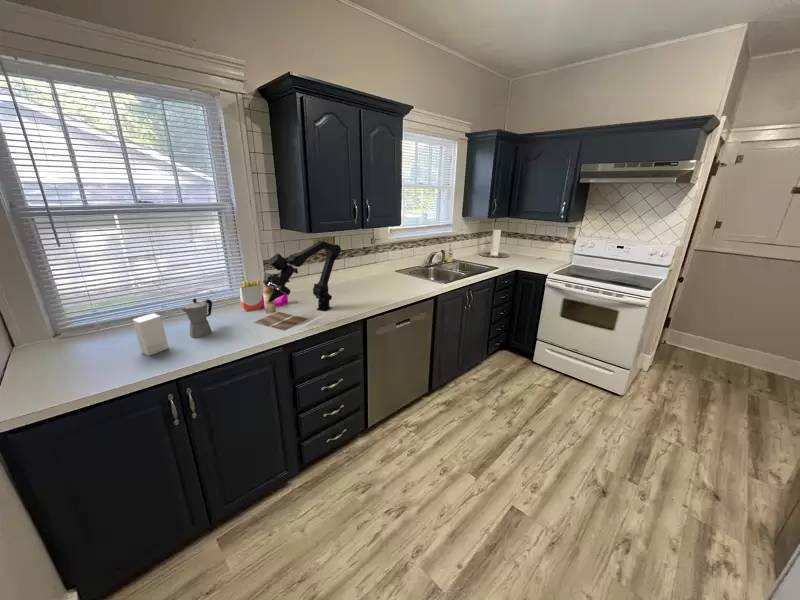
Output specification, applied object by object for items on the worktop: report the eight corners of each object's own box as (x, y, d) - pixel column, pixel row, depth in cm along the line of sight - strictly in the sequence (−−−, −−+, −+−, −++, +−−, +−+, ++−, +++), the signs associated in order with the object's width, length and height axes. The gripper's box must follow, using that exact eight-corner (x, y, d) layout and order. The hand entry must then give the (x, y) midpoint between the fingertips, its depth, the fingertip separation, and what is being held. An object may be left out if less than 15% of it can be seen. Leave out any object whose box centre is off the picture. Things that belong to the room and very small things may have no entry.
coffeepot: (196, 341, 149) (189, 304, 144) (181, 338, 152) (173, 302, 146) (223, 328, 163) (217, 294, 158) (208, 326, 166) (202, 292, 160)
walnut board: (278, 313, 185) (278, 311, 184) (309, 320, 176) (309, 318, 175) (252, 324, 169) (252, 322, 169) (284, 332, 160) (284, 330, 160)
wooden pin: (269, 309, 170) (266, 285, 166) (277, 310, 169) (275, 285, 165) (263, 312, 166) (260, 287, 162) (271, 314, 165) (268, 288, 160)
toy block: (265, 310, 189) (264, 298, 186) (261, 308, 193) (259, 296, 191) (290, 305, 199) (289, 293, 196) (285, 302, 203) (284, 291, 201)
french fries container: (241, 311, 187) (237, 281, 181) (260, 307, 194) (257, 277, 188) (244, 313, 184) (240, 282, 178) (263, 309, 191) (260, 279, 185)
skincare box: (162, 345, 145) (154, 312, 140) (169, 348, 142) (162, 315, 137) (140, 352, 138) (131, 318, 133) (148, 356, 135) (139, 322, 130)
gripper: (264, 263, 169) (245, 288, 164) (282, 269, 157) (263, 296, 153) (279, 275, 177) (262, 299, 173) (298, 282, 165) (280, 307, 161)
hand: (266, 300), depth 164 cm, fingers closed on wooden pin, 5 cm apart
